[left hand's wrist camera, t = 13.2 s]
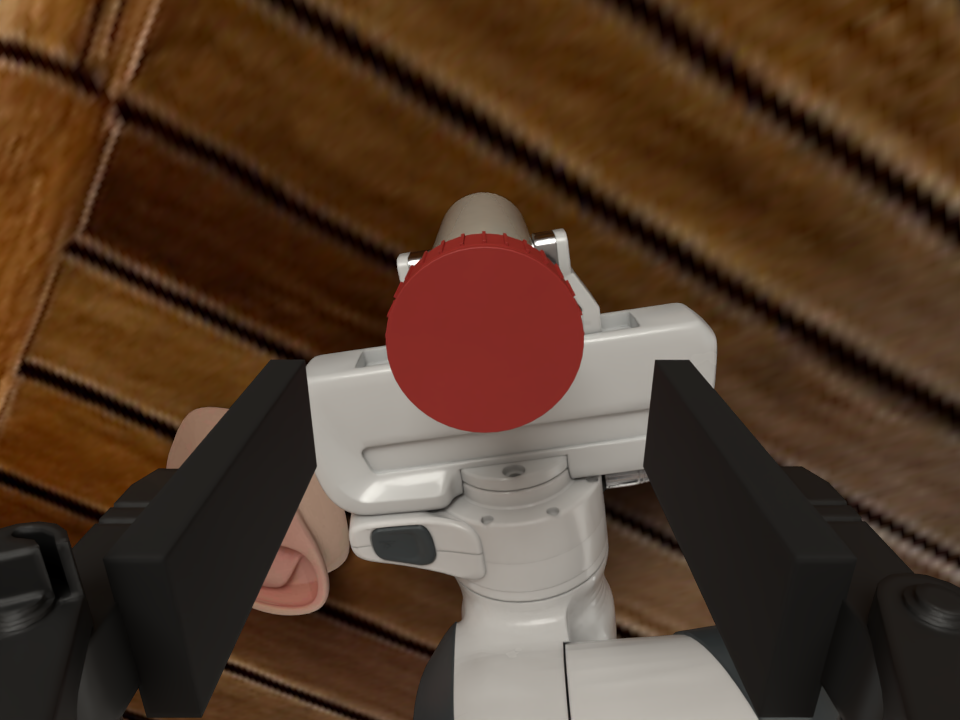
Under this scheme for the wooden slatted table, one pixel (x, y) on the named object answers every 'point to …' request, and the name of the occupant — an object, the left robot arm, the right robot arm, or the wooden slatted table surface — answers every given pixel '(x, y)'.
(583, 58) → the wooden slatted table surface
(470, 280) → the lid
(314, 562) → the anatomical model
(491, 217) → the white cylindrical bottle
